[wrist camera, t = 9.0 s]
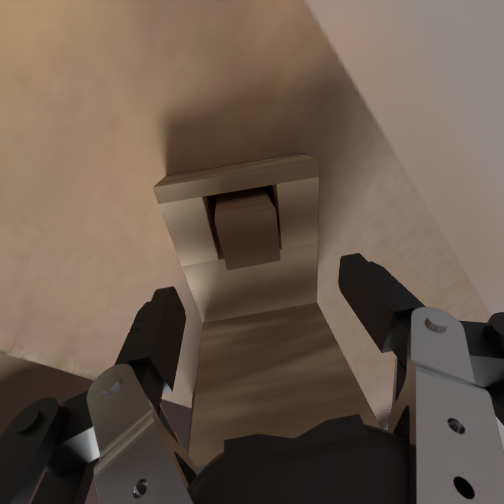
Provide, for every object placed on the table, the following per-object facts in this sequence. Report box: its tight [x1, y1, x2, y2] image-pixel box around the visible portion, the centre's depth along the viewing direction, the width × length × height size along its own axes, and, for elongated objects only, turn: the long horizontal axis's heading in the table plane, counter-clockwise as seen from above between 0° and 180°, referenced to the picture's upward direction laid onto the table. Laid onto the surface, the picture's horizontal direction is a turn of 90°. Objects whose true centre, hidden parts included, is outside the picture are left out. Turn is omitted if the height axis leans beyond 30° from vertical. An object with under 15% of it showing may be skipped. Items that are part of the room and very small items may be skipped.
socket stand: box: [153, 153, 388, 473], centre depth 16 cm, size 18×14×18 cm
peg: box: [214, 187, 281, 270], centre depth 18 cm, size 4×4×7 cm
